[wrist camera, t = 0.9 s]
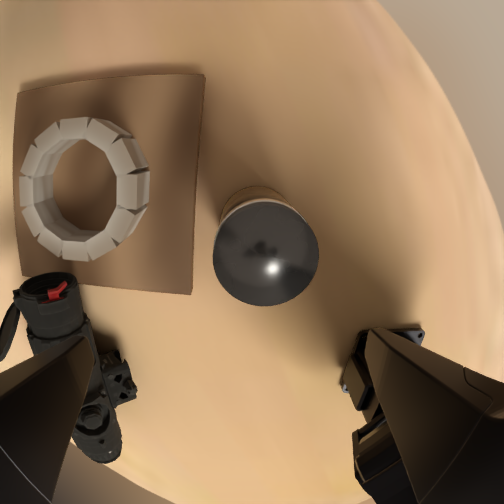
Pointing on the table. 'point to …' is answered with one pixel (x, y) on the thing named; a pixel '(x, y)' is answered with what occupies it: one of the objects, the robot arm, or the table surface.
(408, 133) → the table surface
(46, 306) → the night vision scope
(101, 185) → the mount plate
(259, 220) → the lens
